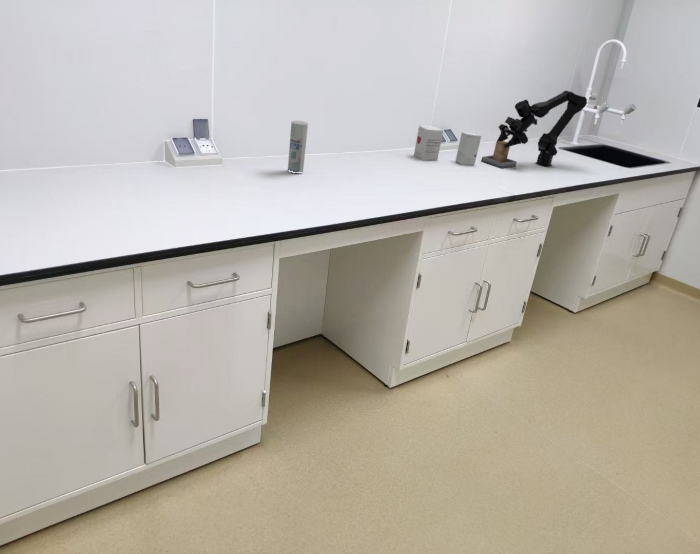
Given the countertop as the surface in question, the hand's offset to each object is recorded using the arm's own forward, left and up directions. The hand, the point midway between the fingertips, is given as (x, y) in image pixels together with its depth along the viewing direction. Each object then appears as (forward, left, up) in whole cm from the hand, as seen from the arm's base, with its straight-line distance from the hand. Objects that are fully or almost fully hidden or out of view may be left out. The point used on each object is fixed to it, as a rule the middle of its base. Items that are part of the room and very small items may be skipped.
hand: (500, 145), depth 292 cm
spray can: (+23, +112, -10) cm, 114 cm away
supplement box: (+21, +32, -10) cm, 39 cm away
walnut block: (0, -1, -9) cm, 9 cm away
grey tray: (0, -1, -10) cm, 10 cm away
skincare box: (+7, +18, -10) cm, 21 cm away
